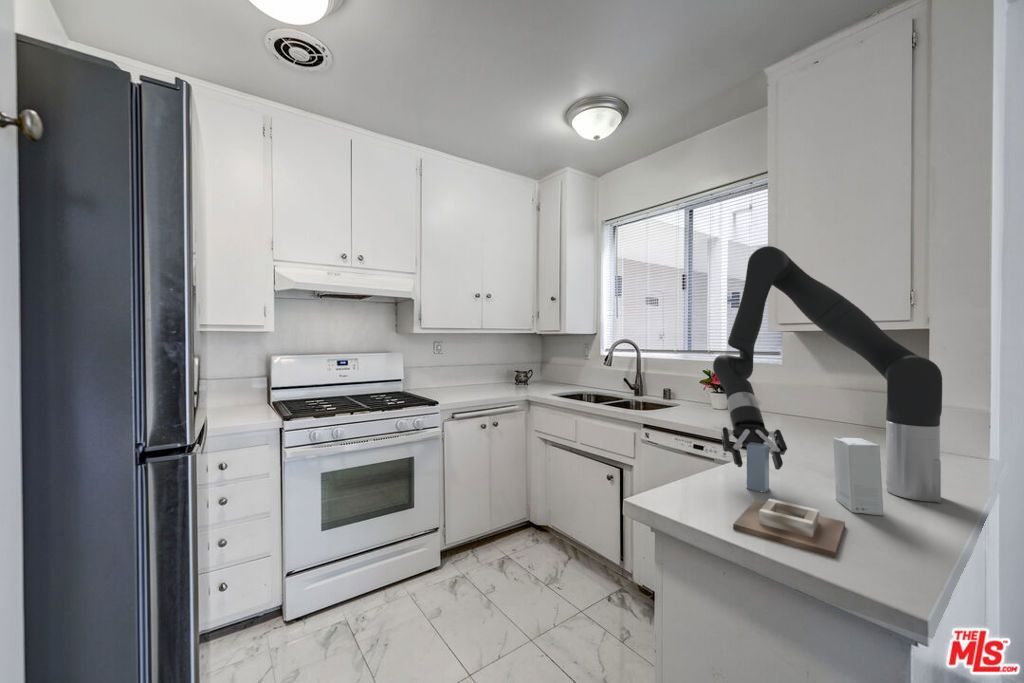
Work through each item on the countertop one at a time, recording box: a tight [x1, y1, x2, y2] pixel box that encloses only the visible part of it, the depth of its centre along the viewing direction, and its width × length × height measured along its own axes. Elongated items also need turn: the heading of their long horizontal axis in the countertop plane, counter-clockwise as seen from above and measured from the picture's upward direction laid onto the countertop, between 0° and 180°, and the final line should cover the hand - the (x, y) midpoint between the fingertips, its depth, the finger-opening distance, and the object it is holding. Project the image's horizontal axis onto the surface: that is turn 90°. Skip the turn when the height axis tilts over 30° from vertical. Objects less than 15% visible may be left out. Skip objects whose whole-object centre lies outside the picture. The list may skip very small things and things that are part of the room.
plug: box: [746, 442, 770, 493], centre depth 103 cm, size 4×4×11 cm
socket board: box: [732, 498, 846, 558], centre depth 82 cm, size 16×16×4 cm
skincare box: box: [832, 437, 884, 516], centre depth 92 cm, size 8×6×15 cm
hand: (759, 466), depth 102 cm, fingers open, 8 cm apart
